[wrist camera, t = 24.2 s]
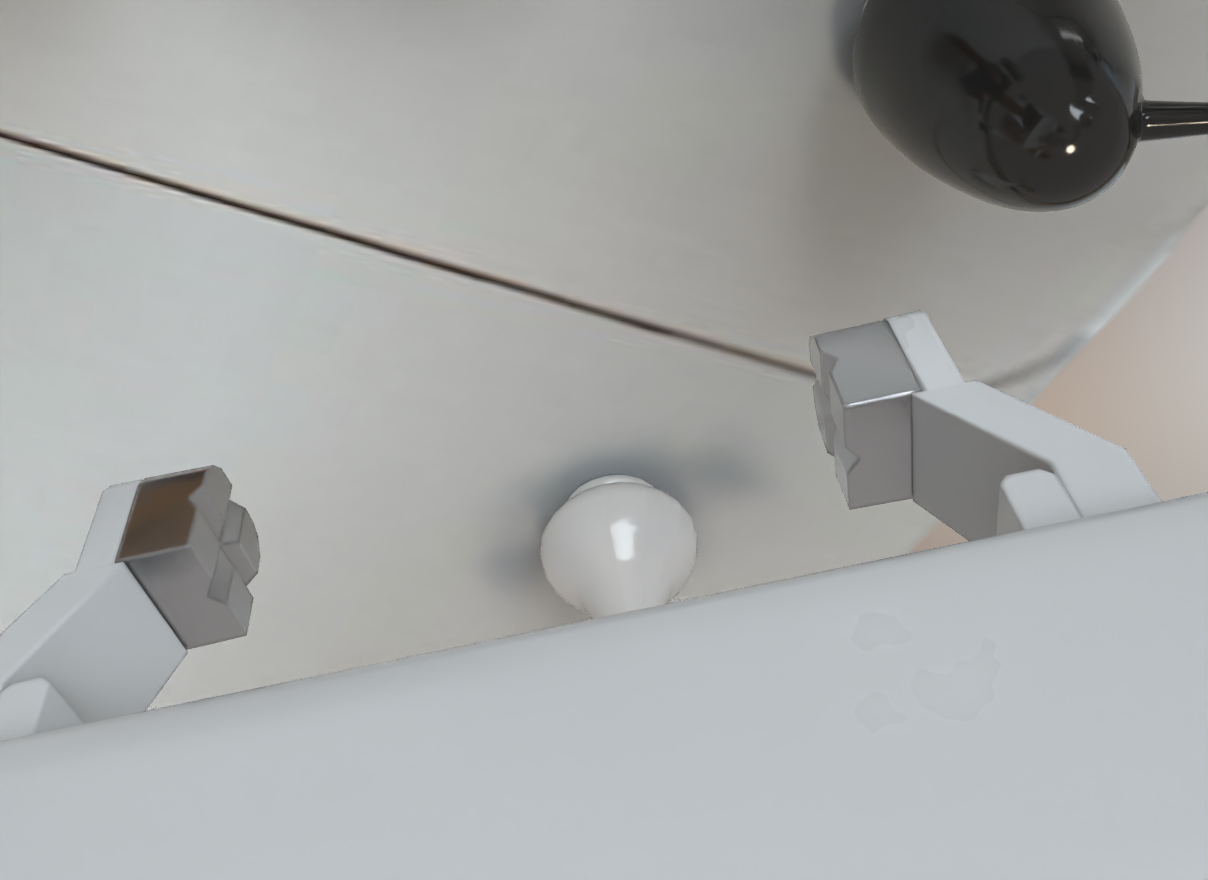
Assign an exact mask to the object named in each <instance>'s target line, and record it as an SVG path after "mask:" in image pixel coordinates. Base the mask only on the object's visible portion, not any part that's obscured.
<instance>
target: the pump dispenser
mask: <svg viewBox="0 0 1208 880" xmlns="http://www.w3.org/2000/svg"><path fill="white" fill-rule="evenodd" d="M853 74H854V81H855V86H856V90H857V93H858V96H859V99H860V101H861V103H862V105H863V107H864V109H865V111H866V113H867V115H868V116H869V118H870V119H871V121H872V122H873V124H874V125H875V126H876V128H877V129H878V130H879V131H880V133H881V134H882V135H883V136H884V137H885V138H886V139H887V140H888V141H889V142H890V143H891V144H892V145H893V146H894V147H895V148H896V149H897V150H899V151H900V152H901V153H902V154H903V155H904V156H905V157H907V158H908V159H909V160H910V161H912V162H913V163H914V164H915V165H917V166H918V167H919V168H921V169H922V170H924V171H925V172H927V173H928V174H930V175H931V176H933V177H934V178H936V179H938V180H939V181H941V182H943V183H945V184H947V185H949V186H951V187H953V188H955V189H957V190H959V191H961V192H963V193H965V194H967V195H970V196H972V197H974V198H977V199H979V200H982V201H985V202H987V203H990V204H994V205H997V206H1001V207H1004V208H1009V209H1013V210H1020V211H1029V212H1049V211H1059V210H1064V209H1069V208H1073V207H1076V206H1079V205H1082V204H1084V203H1086V202H1088V201H1090V200H1092V199H1094V198H1096V197H1097V196H1099V195H1101V194H1102V193H1103V192H1105V191H1106V190H1107V189H1108V188H1110V187H1111V186H1112V185H1113V184H1114V183H1115V182H1116V181H1117V179H1118V178H1119V177H1120V176H1121V174H1122V173H1123V171H1124V170H1125V168H1126V166H1127V165H1128V163H1129V161H1130V159H1131V157H1132V155H1133V153H1134V150H1135V148H1136V145H1137V143H1138V142H1143V141H1152V140H1161V139H1171V138H1180V137H1190V136H1199V135H1208V103H1207V102H1174V101H1148V100H1144V98H1143V86H1142V72H1141V66H1140V61H1139V56H1138V52H1137V48H1136V45H1135V41H1134V38H1133V35H1132V32H1131V29H1130V27H1129V24H1128V21H1127V19H1126V17H1125V14H1124V12H1123V10H1122V8H1121V6H1120V4H1119V2H1118V0H866V2H865V5H864V7H863V11H862V14H861V17H860V21H859V25H858V28H857V32H856V36H855V41H854V48H853Z"/></svg>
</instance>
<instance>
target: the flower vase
mask: <svg viewBox="0 0 1208 880" xmlns="http://www.w3.org/2000/svg"><path fill="white" fill-rule="evenodd" d="M540 557H541V563H542V568H543V571H544V573H545V575H546V577H547V579H548V581H549V582H550V584H551V586H552V587H553V589H554V591H555V592H556V593H557V594H558V595H559V596H560V597H561V598H563V599H564V600H565V601H566V602H567V603H568V604H570V605H571V606H572V607H574V608H576V609H578V610H580V611H582V612H584V613H586V614H588V615H590V617H591V618H592V619H595V618H600V617H604V616H609V615H614V614H619V613H624V612H629V611H633V610H638V609H643V608H648V607H653V606H658V605H663V604H667V603H668V602H669V601H670V600H671V599H672V598H674V597H675V596H676V595H677V594H678V593H679V591H680V590H681V589H682V587H683V586H684V584H685V583H686V582H687V580H688V579H689V577H690V575H691V573H692V570H693V567H694V564H695V561H696V557H697V531H696V528H695V526H694V523H693V521H692V519H691V516H690V514H689V513H688V512H687V511H686V509H685V508H684V507H683V506H682V505H681V504H680V503H679V502H678V501H677V500H676V499H675V498H673V497H671V496H670V495H668V494H666V493H664V492H663V491H661V490H659V489H657V488H654V487H653V486H652V485H651V484H649V483H648V482H646V481H644V480H642V479H640V478H637V477H633V476H630V475H617V474H616V475H608V476H602V477H599V478H596V479H593V480H590V481H588V482H587V483H585V484H583V485H581V486H580V487H579V488H577V489H576V490H575V491H574V492H573V493H572V494H571V496H570V497H569V499H568V500H567V502H566V503H565V504H564V505H562V506H561V507H560V508H559V509H558V510H557V511H556V512H555V513H554V515H553V516H552V518H551V519H550V521H549V523H548V524H547V526H546V528H545V529H544V532H543V535H542V540H541V545H540Z"/></svg>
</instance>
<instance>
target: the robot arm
mask: <svg viewBox="0 0 1208 880" xmlns="http://www.w3.org/2000/svg"><path fill="white" fill-rule="evenodd" d="M809 349H810V361H811V364H812V366H813V369H814V371H815V374H816V376H817V381H816V382H815V384H814V385H813V394H814V403H815V410H816V415H817V420H818V426H819V429H820V432H821V436H822V439H823V442H824V445H825V447H826V450H827V453H829V454H831V455H832V456H834V457H835V468H836V476H837V479H838V481H839V484H840V486H841V489H842V492H843V494H844V497H845V499H846V502H847V504H848V507H849V509H850V510H851V509H856V508H862V507H867V506H873V505H878V504H884V503H889V502H895V501H900V500H906V499H911V498H913V501H914V502H915V503H917V504H918V505H920V506H921V507H922V508H924V509H925V510H927V511H928V512H929V513H931V514H932V515H933V516H935V517H936V518H938V519H939V520H940V521H942V522H943V523H945V524H946V525H947V526H949V527H950V528H952V529H953V530H955V531H956V532H957V533H959V534H960V535H961V536H963V537H964V538H966V539H967V540H968V542H963V543H958V544H953V545H948V546H944V547H939V548H934V549H929V550H925V551H920V552H914V553H910V554H905V555H900V556H895V557H890V558H885V559H880V560H876V561H871V562H866V563H861V564H856V565H852V566H847V567H842V568H837V569H832V570H827V571H823V572H818V573H813V574H808V575H803V576H798V577H794V578H789V579H784V580H779V581H774V582H769V583H764V584H760V585H755V586H750V587H745V588H740V589H735V590H730V591H726V592H721V593H716V594H711V595H706V596H701V597H697V598H692V599H687V600H682V601H677V602H672V603H667V604H663V605H658V606H653V607H648V608H643V609H638V610H633V611H629V612H624V613H619V614H614V615H609V616H604V617H600V618H595V619H590V620H585V621H580V622H575V623H571V624H566V625H561V626H556V627H551V628H547V629H542V630H537V631H532V632H527V633H522V634H518V635H513V636H508V637H503V638H498V639H493V640H488V641H484V642H479V643H474V644H469V645H464V646H459V647H454V648H450V649H445V650H440V651H435V652H430V653H425V654H420V655H416V656H411V657H406V658H401V659H396V660H391V661H386V662H382V663H377V664H372V665H367V666H362V667H357V668H352V669H348V670H343V671H338V672H333V673H328V674H323V675H319V676H314V677H309V678H304V679H299V680H294V681H289V682H285V683H280V684H275V685H270V686H265V687H260V688H255V689H251V690H246V691H241V692H236V693H231V694H226V695H221V696H217V697H212V698H207V699H202V700H197V701H192V702H187V703H183V704H178V705H173V706H168V707H163V708H158V709H153V710H149V711H146V710H147V708H148V707H149V706H150V704H151V703H152V701H153V700H154V699H155V697H156V696H157V694H158V693H159V692H160V690H161V689H162V688H163V686H164V685H165V683H166V682H167V681H168V679H169V678H170V677H171V675H172V674H173V672H174V671H175V670H176V668H177V667H178V666H179V664H180V663H181V661H182V660H183V659H184V657H185V656H186V655H187V653H188V652H187V650H188V649H192V648H196V647H200V646H204V645H209V644H213V643H217V642H221V641H226V640H230V639H234V638H238V637H242V636H247V631H248V625H249V620H250V614H251V609H252V603H253V597H252V595H251V593H250V592H249V590H248V588H247V587H246V586H247V585H248V584H249V582H250V581H251V580H252V579H253V578H254V577H255V576H256V574H257V573H258V568H259V561H260V551H259V541H258V535H257V532H256V529H255V526H254V523H253V521H252V519H251V517H250V515H249V514H248V512H247V510H246V508H244V507H242V506H240V505H238V504H237V503H235V502H233V501H231V500H229V499H230V494H231V489H232V484H231V483H230V481H229V479H228V478H227V476H226V475H225V473H224V472H223V470H222V468H220V467H217V466H214V465H211V466H206V467H201V468H196V469H191V470H186V471H180V472H175V473H170V474H165V475H160V476H154V477H149V478H145V479H144V480H136V481H131V482H126V483H121V484H116V485H111V486H109V487H108V488H107V489H106V490H104V491H103V492H102V494H101V497H100V500H99V503H98V506H97V509H96V512H95V515H94V518H93V520H92V523H91V526H90V529H89V532H88V535H87V538H86V541H85V544H84V547H83V549H82V552H81V555H80V558H79V561H78V564H77V567H76V570H75V572H73V573H68V574H64V575H63V576H62V577H61V578H60V579H59V580H58V581H57V582H56V583H55V584H54V585H53V586H51V587H50V588H49V589H48V590H47V591H46V592H45V593H44V594H43V595H42V596H41V597H40V598H39V599H38V600H37V601H35V602H34V603H33V604H32V605H31V606H30V607H29V608H28V609H27V610H26V611H25V612H24V613H23V614H22V615H21V616H20V617H18V618H17V619H16V620H15V621H14V622H13V623H12V624H11V625H10V626H9V627H8V628H7V629H6V630H5V631H4V632H3V633H1V634H0V880H1208V492H1206V493H1201V494H1195V495H1191V496H1186V497H1181V498H1176V499H1171V500H1167V501H1161V499H1160V498H1159V496H1158V495H1157V493H1156V492H1155V491H1154V489H1153V487H1152V486H1151V485H1150V483H1149V482H1148V480H1147V479H1146V477H1145V476H1144V474H1143V473H1142V471H1141V470H1140V468H1139V467H1138V466H1137V464H1136V463H1135V461H1134V460H1133V458H1132V457H1131V455H1130V454H1129V453H1128V451H1127V450H1126V449H1125V448H1123V447H1121V446H1119V445H1117V444H1114V443H1112V442H1110V441H1108V440H1106V439H1103V438H1101V437H1099V436H1097V435H1095V434H1093V433H1090V432H1088V431H1086V430H1084V429H1082V428H1080V427H1077V426H1075V425H1073V424H1071V423H1069V422H1066V421H1064V420H1062V419H1060V418H1057V417H1055V416H1053V415H1051V414H1049V413H1047V412H1044V411H1042V410H1040V409H1038V408H1036V407H1034V406H1031V405H1029V404H1027V403H1025V402H1023V401H1021V400H1018V399H1016V398H1014V397H1012V396H1010V395H1007V394H1005V393H1003V392H1001V391H999V390H996V389H994V388H992V387H990V386H988V385H986V384H983V383H981V382H979V381H977V380H974V381H969V382H965V381H964V379H963V377H962V375H961V374H960V372H959V370H958V368H957V367H956V365H955V363H954V361H953V360H952V358H951V356H950V354H949V353H948V351H947V349H946V348H945V346H944V344H943V342H942V341H941V339H940V337H939V335H938V334H937V332H936V330H935V328H934V327H933V325H932V323H931V321H930V320H929V318H928V316H927V314H926V313H925V312H923V311H921V310H918V311H914V312H910V313H906V314H901V315H897V316H893V317H889V318H885V319H884V320H882V321H877V322H872V323H868V324H863V325H859V326H854V327H850V328H845V329H841V330H836V331H832V332H827V333H823V334H818V335H814V336H810V342H809Z"/></svg>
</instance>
